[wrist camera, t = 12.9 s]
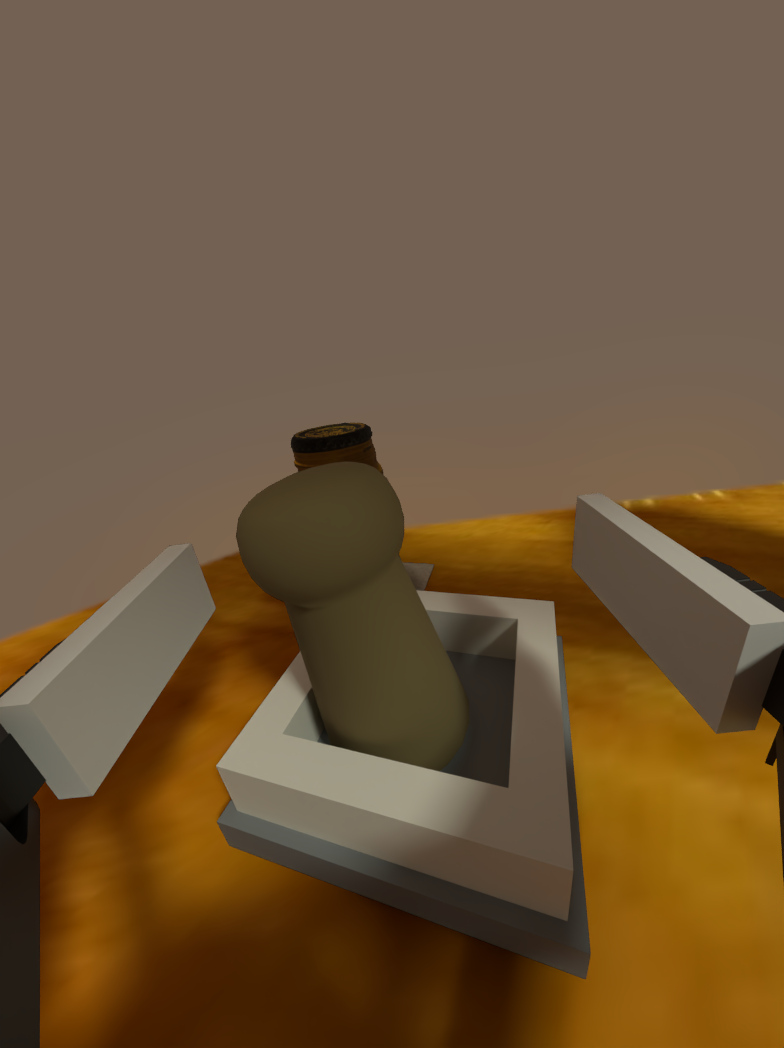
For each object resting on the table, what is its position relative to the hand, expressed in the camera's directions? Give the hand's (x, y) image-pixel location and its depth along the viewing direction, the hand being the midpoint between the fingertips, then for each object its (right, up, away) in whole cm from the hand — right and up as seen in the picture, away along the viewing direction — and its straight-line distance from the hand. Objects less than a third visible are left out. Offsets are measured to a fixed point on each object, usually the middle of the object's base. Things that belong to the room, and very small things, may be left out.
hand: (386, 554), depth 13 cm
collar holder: (+2, -9, +4) cm, 10 cm away
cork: (+1, -7, +3) cm, 8 cm away
